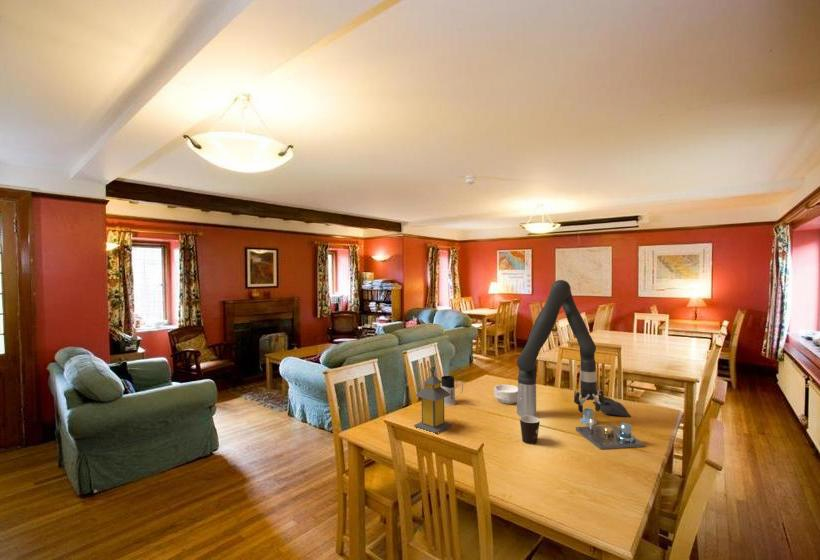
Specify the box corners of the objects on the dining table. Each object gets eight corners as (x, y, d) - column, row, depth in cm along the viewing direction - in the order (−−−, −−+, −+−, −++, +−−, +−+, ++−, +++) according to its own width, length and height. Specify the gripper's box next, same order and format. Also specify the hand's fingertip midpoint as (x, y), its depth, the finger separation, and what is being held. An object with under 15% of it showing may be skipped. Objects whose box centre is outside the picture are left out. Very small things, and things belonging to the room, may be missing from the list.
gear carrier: (600, 449, 164) (600, 430, 164) (575, 430, 184) (575, 413, 184) (644, 446, 166) (644, 428, 166) (615, 428, 186) (615, 411, 186)
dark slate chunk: (601, 416, 202) (600, 407, 202) (591, 402, 223) (591, 394, 223) (633, 419, 198) (633, 409, 198) (620, 404, 220) (620, 396, 220)
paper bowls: (524, 405, 219) (523, 391, 218) (497, 405, 219) (497, 392, 219) (516, 396, 234) (516, 384, 234) (491, 397, 234) (491, 384, 234)
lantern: (453, 426, 191) (452, 366, 191) (435, 435, 181) (434, 371, 180) (431, 419, 201) (430, 361, 200) (413, 427, 191) (412, 367, 190)
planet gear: (585, 426, 189) (585, 412, 189) (576, 419, 197) (576, 407, 197) (600, 425, 190) (600, 412, 190) (591, 419, 197) (591, 406, 197)
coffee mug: (529, 447, 167) (529, 424, 167) (515, 439, 175) (515, 417, 175) (548, 441, 173) (548, 419, 173) (534, 434, 180) (534, 413, 180)
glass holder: (445, 399, 231) (445, 374, 231) (466, 403, 223) (466, 378, 222) (437, 403, 224) (437, 378, 224) (459, 408, 216) (459, 381, 215)
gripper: (578, 382, 188) (579, 415, 188) (606, 380, 190) (607, 413, 190) (571, 378, 196) (571, 410, 196) (597, 376, 197) (598, 408, 197)
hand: (589, 411), depth 193 cm, fingers open, 8 cm apart
